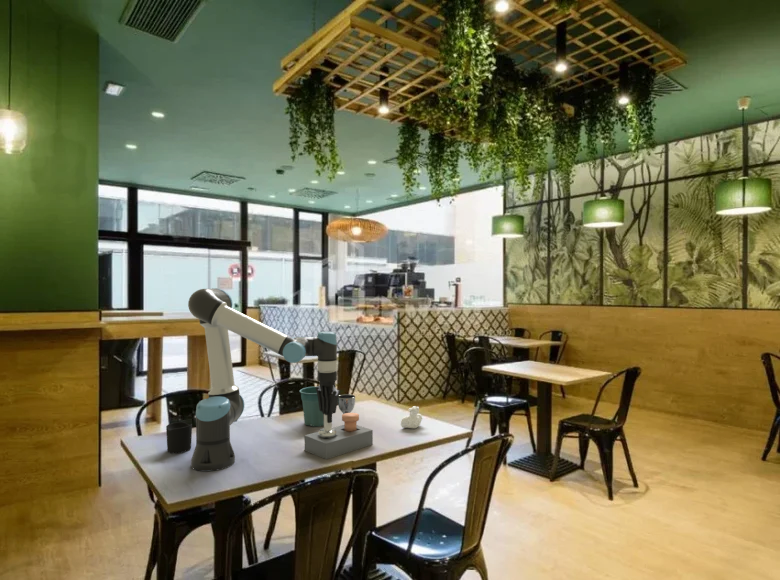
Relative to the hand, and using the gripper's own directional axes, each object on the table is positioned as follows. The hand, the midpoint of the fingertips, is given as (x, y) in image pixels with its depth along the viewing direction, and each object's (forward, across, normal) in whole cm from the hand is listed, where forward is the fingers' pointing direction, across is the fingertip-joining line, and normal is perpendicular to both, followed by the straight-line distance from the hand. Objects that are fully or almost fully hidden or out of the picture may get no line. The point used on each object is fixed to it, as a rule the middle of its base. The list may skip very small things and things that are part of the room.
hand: (327, 430), depth 189 cm
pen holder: (+8, +43, +41) cm, 60 cm away
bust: (+9, -3, -47) cm, 48 cm away
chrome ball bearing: (+7, 0, 0) cm, 7 cm away
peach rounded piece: (+3, 0, -12) cm, 12 cm away
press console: (+8, 0, -6) cm, 10 cm away
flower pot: (+8, +34, -20) cm, 40 cm away
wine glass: (+9, +17, -24) cm, 31 cm away
